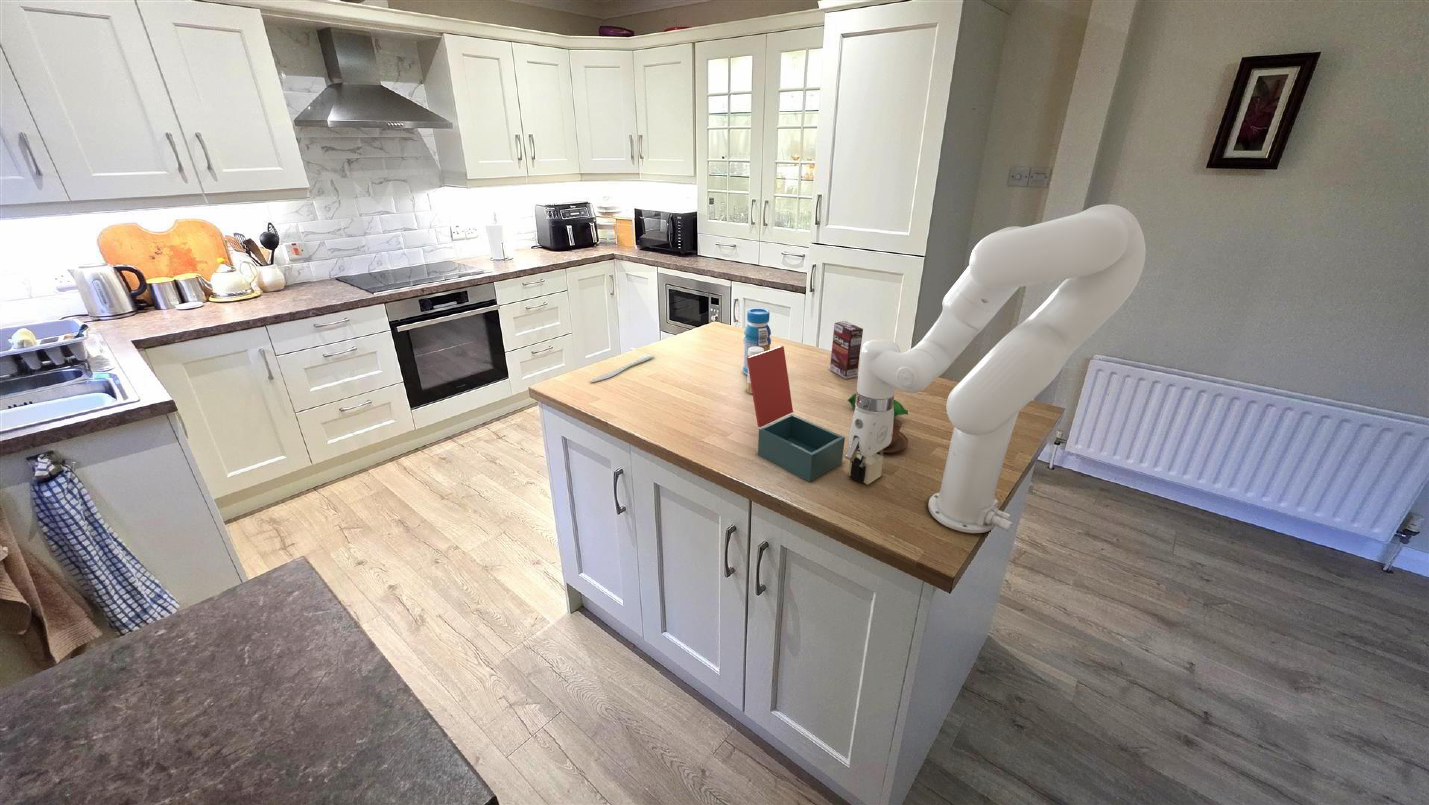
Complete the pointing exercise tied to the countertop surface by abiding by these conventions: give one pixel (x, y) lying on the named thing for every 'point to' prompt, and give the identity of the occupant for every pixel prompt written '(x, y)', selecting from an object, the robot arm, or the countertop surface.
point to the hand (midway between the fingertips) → (864, 474)
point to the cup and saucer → (896, 439)
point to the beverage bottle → (756, 332)
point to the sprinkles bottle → (751, 352)
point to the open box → (801, 446)
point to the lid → (770, 385)
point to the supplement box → (846, 349)
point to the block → (871, 467)
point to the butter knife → (622, 369)
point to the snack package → (897, 406)
